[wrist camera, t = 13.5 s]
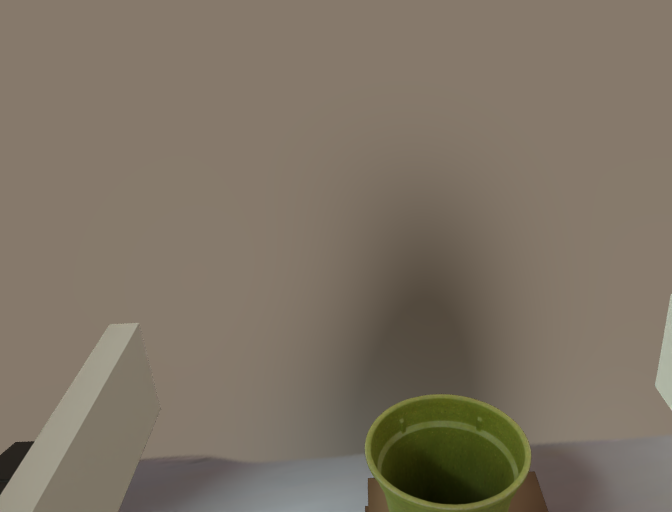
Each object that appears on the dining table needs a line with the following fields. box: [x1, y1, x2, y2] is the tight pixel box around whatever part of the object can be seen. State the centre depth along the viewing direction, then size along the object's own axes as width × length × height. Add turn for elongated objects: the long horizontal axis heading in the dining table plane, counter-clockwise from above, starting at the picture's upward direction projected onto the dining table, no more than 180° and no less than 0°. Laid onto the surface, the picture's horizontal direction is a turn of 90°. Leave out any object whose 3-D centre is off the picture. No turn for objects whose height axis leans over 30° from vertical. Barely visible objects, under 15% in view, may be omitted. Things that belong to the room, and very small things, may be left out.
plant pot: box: [365, 394, 531, 512], centre depth 39 cm, size 9×9×9 cm
